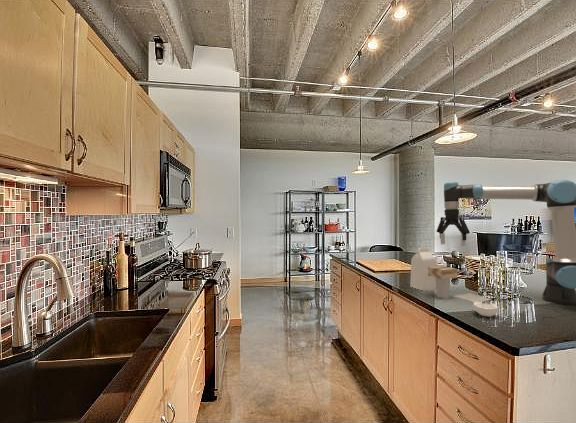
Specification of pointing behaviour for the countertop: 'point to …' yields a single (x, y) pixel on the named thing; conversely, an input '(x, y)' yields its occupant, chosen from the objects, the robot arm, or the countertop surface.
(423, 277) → the milk
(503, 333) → the countertop surface
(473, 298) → the mat
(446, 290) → the cup
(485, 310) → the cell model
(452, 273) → the bread bun
